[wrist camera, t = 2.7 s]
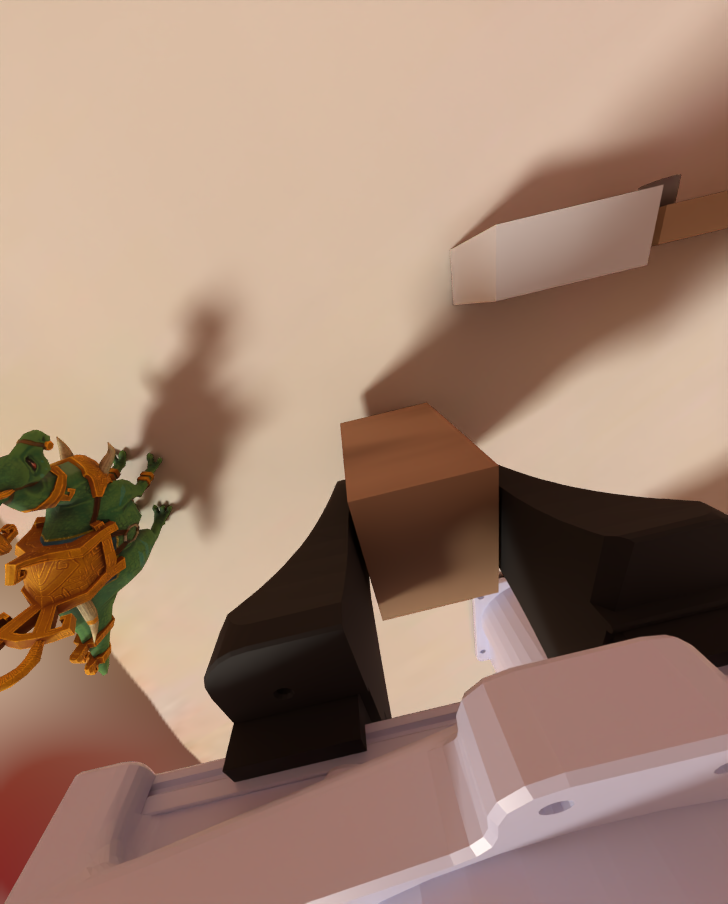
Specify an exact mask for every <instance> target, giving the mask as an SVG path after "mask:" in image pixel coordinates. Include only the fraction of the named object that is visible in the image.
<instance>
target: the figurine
mask: <svg viewBox="0 0 728 904" xmlns="http://www.w3.org/2000/svg"><path fill="white" fill-rule="evenodd" d="M56 437H57V436H56ZM57 444H58V447H59V453H60V459H61V460H60V461H57V462H55V463H52V464H50V465H49V463H48V460H47V459H46V458H45V457H44V454H43V450H51V449H52V448H53V445H54V444H53V443H52V442H51V441H50V436H48V435H46V434H44V433H43V432H41V431H39V430H32V431H30V432H27V433H25V434H23V435H22V437H21V438H20V439H19V440H18V441H17V444H16V446H15V447H14V449H13V450H12V451H11V452H10V454H9V455H6V456H3V457H0V505H1V504H2V503H3V504H5V505H7V506H9V507H11V508H13V509H15V510H18V511H21V512H24V513H26V512H31V511H37V510H42V509H46V517H37V518H36V520H35V522H34V524H33V526H32V529H31V530H30V531H29V532H28V533H27V534H26V535H25V536H24V537H23V538H22V539H21V540H20V541H19V542H18V543H17V544H16V547H15V555H17V556H18V557H17V558H16V559H14V560H12V561H11V562H9V563H7V564H5V573H6V575H5V585H8V586H9V585H15V584H16V583H19V582H20V581H22V580H23V582H24V586H23V588H22V590H21V592H22V593H23V595H24V596H25V598H26V600H27V601H28V603H29V604H30V607H28V608H27V609H26V610H24V611H23V612H22V613H20V614H19V615H18V616H16V617H15V618H14V619H12V618H11V617H10V616H9V615H7V614H6V613H4V612H3V613H2V614H0V650H1V649H2V648H3V647H4V646H5V645H6V646H8V647H11V648H16V649H26V648H31V649H30V651H29V653H28V654H27V656H26V658H25V659H24V660H23V661H22V663H21V664H20V665H19V666H18V667H17V668H16V669H14V670H12V671H11V672H9V673H7V674H6V675H4V676H2V677H0V692H1V691H3V690H5V689H8V688H10V687H11V686H13V685H14V684H15V683H17V682H18V681H19V680H21V679H22V678H23V677H24V676H26V675H27V674H28V673H29V672H30V671H31V670H32V669H33V668H34V667H35V666H36V665H37V664H38V662H39V661H40V659H41V655H42V650H43V646H44V644H48V643H51V642H55V641H57V640H60V639H63V638H65V637H68V636H71V635H74V634H75V632H76V633H77V635H76V637H75V640H74V643H75V644H76V645H77V647H76V649H75V650H74V652H73V653H72V654H71V655H70V661H71V662H72V663H85V662H86V661H87V664H86V665H85V673H86V674H87V675H94V674H96V672H97V671H99V672H100V673H101V674H102V675H105V674H107V672H108V667H109V655H110V653H111V644H110V631H111V629H112V627H113V626H114V621H115V618H114V617H113V615H112V606H113V603H114V600H115V598H116V595H117V592H118V591H119V590H120V589H122V588H123V587H124V586H125V585H126V584H128V583H129V582H130V581H131V580H132V579H133V578H134V577H135V576H136V575H137V574H138V573H139V572H140V571H141V570H142V568H143V567H144V565H145V563H146V561H147V559H148V557H149V555H150V552H151V550H152V548H153V545H154V543H155V541H156V540H157V538H158V536H159V533H160V531H161V528H162V526H163V525H164V524H165V520H166V518H167V517H168V516H169V514H170V511H171V509H172V506H168V507H167V511H166V512H165V506H164V505H162V506H161V507H160V511H159V509H158V506H156V505H154V506H153V508H152V509H153V511H154V523H153V525H152V528H151V530H150V529H142V530H139V526H138V525H139V522H140V519H141V516H142V515H141V514H140V512H139V511H138V509H137V507H136V504H135V503H133V501H132V499H134V498H135V497H141V496H142V494H143V493H144V491H145V490H146V489H147V488H148V487H149V486H150V483H151V481H152V480H153V479H154V475H153V474H154V472H155V470H156V469H157V468H158V466H159V465H160V463H161V462H162V458H161V457H160V458H158V459H157V461H156V463H155V462H154V459H153V455H152V454H150V453H148V455H147V461H148V466H147V467H148V469H147V470H146V471H145V472H142V473H141V474H140V477H138V478H137V484H136V485H134V484H132V483H131V482H129V481H127V480H123V479H121V480H116V479H118V478H119V476H120V475H121V474H120V472H121V470H122V469H123V468H124V467H125V464H126V452H125V451H123V450H122V451H120V453H119V455H118V457H119V459H118V458H117V457H116V453H115V449H114V447H113V446H112V445H111V444H109V443H108V451H107V454H106V455H105V456H104V457H103V459H102V460H101V462H100V464H98V463H97V462H96V461H95V460H93V459H91V458H89V457H87V456H85V455H73V453H72V452H71V450H70V448H69V447H68V446H67V445H66V444H65V443H64V442H63V441H62V440H60V439H59V438H58V437H57ZM113 463H114V466H113V467H112V468H111V466H112V464H113ZM0 532H2V533H3V534H1V533H0V556H1V555H4V554H7V553H9V552H10V551H11V549H12V546H11V545H10V542H11V541H12V540H13V539H14V538H15V537H16V536H17V535H18V530H17V528H16V526H15V525H14V524H6V525H4V526H3V527H2V528H1V529H0ZM58 615H59V616H60V621H61V623H62V627H58V628H55V627H56V623H57V619H58ZM33 627H35V628H34V630H33V633H27V632H28V631H30V630H31V629H32V628H33ZM88 650H89V651H90V652H88Z"/></svg>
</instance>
